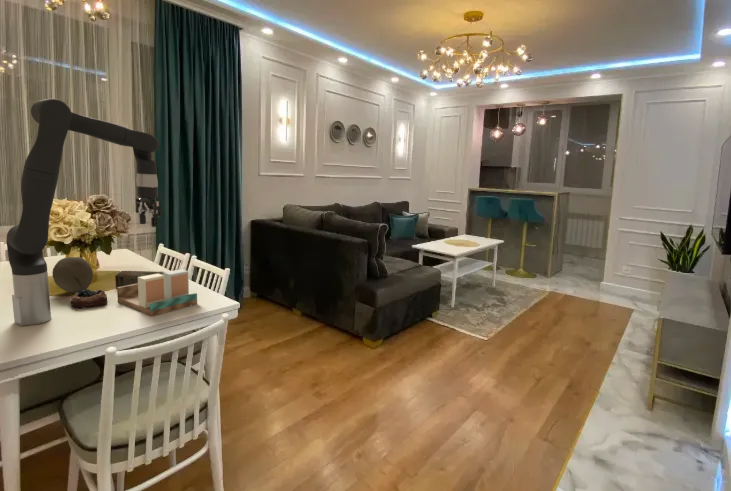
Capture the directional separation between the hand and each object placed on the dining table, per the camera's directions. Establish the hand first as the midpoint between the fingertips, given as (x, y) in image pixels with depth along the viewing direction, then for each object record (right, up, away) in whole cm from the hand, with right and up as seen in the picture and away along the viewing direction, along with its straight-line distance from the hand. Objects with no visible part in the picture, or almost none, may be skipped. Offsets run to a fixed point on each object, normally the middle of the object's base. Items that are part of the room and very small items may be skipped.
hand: (148, 225), depth 168 cm
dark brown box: (-13, -27, +18) cm, 35 cm away
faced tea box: (+12, -30, -1) cm, 32 cm away
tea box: (+6, -31, -9) cm, 33 cm away
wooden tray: (+5, -31, -2) cm, 32 cm away
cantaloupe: (-33, -28, +4) cm, 44 cm away
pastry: (-19, -31, -8) cm, 38 cm away
